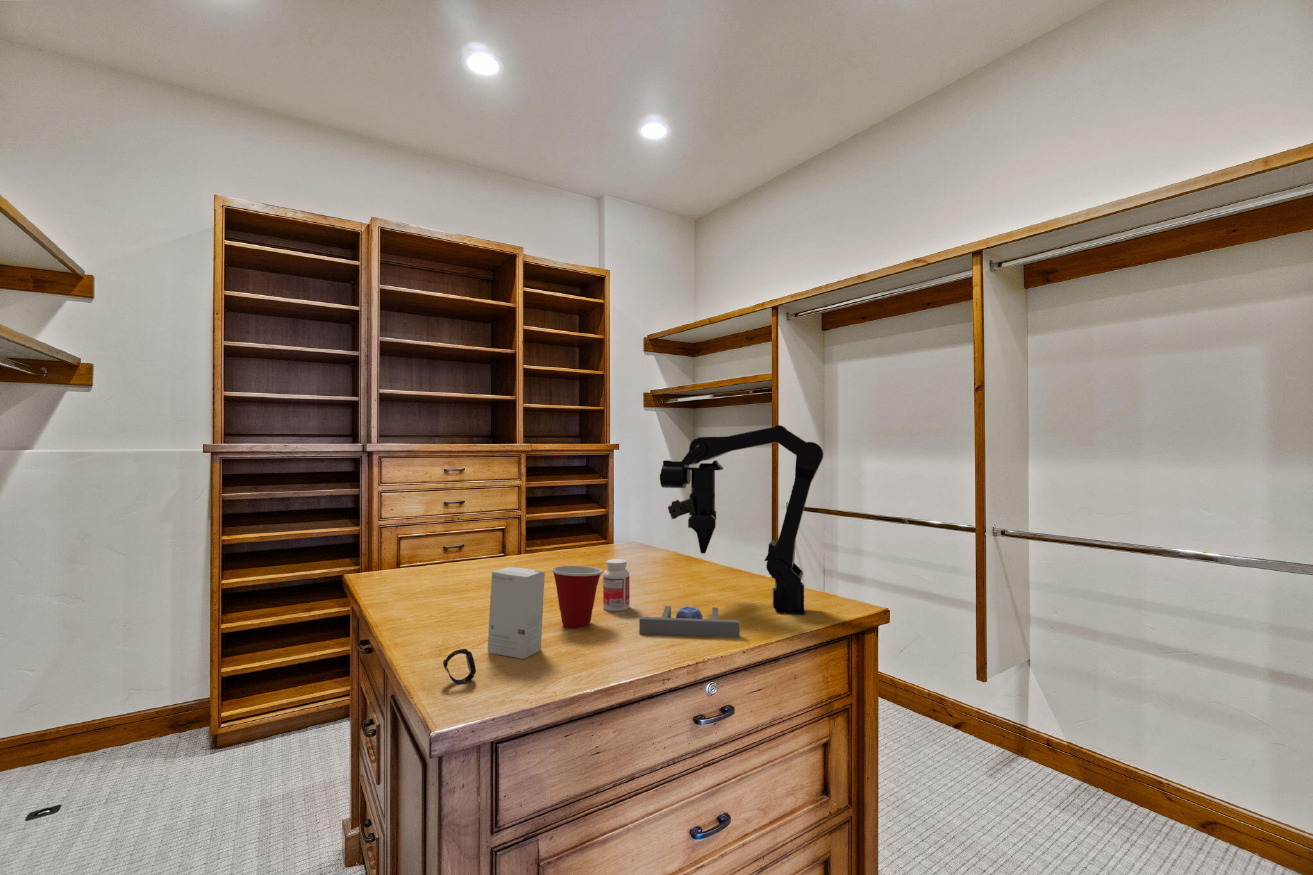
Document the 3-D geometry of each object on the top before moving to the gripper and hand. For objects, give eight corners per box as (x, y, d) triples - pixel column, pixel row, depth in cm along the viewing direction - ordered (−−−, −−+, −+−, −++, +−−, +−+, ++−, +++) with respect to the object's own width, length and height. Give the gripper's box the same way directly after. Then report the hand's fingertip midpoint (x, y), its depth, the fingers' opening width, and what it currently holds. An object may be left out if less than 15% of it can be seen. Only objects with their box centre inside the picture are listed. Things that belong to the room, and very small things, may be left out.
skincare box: (486, 653, 102) (487, 571, 103) (507, 643, 108) (507, 565, 108) (525, 660, 99) (526, 575, 100) (544, 649, 105) (545, 568, 105)
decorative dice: (688, 624, 120) (689, 605, 120) (702, 628, 117) (702, 609, 117) (675, 628, 118) (675, 608, 118) (689, 632, 115) (689, 612, 115)
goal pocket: (738, 622, 121) (738, 608, 121) (739, 637, 111) (739, 622, 111) (645, 618, 124) (646, 605, 124) (639, 633, 114) (639, 618, 114)
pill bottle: (619, 603, 136) (619, 557, 137) (634, 608, 132) (635, 561, 132) (597, 607, 132) (598, 560, 133) (612, 613, 128) (613, 564, 128)
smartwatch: (473, 686, 88) (473, 654, 88) (439, 687, 88) (440, 655, 88) (479, 676, 92) (480, 645, 93) (447, 676, 92) (447, 646, 92)
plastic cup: (613, 624, 120) (613, 567, 120) (573, 636, 112) (573, 575, 112) (580, 613, 127) (580, 560, 128) (540, 624, 119) (541, 567, 120)
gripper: (673, 485, 147) (673, 545, 147) (666, 491, 129) (666, 559, 129) (716, 486, 146) (716, 546, 146) (715, 491, 128) (715, 561, 127)
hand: (703, 553), depth 137 cm, fingers closed
